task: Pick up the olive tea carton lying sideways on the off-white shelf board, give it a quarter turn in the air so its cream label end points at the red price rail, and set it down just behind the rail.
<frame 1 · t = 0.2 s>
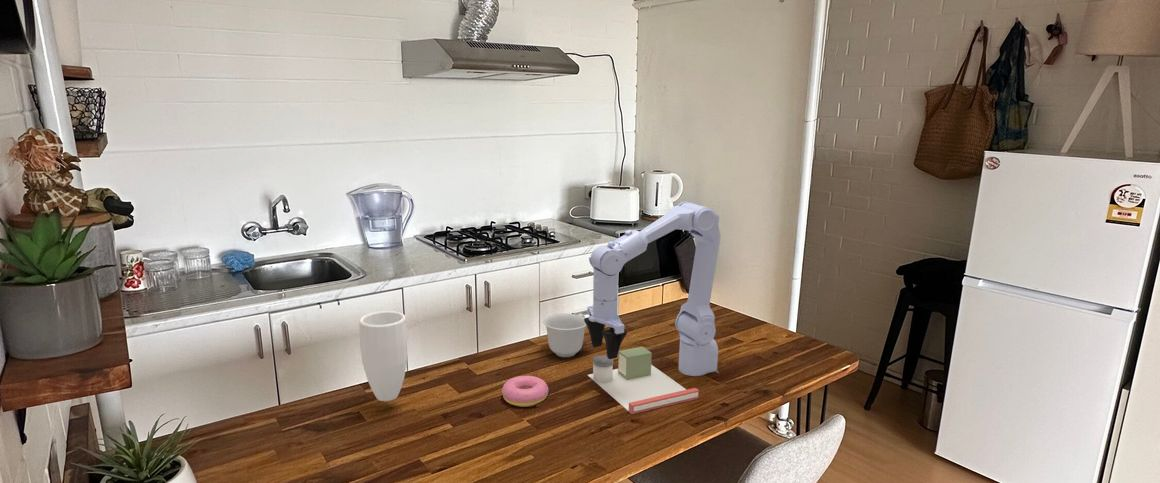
hand: (604, 352, 153), 10 cm above the table, fingers open, 7 cm apart
tea carton: (634, 374, 163), point 1 cm above the table, touching shelf board
teacup: (568, 354, 176), on the table
spice jar: (602, 378, 160), point 1 cm above the table, touching shelf board
cup: (388, 409, 145), on the table
doughnut: (525, 399, 151), on the table
shelf board: (640, 389, 156), on the table
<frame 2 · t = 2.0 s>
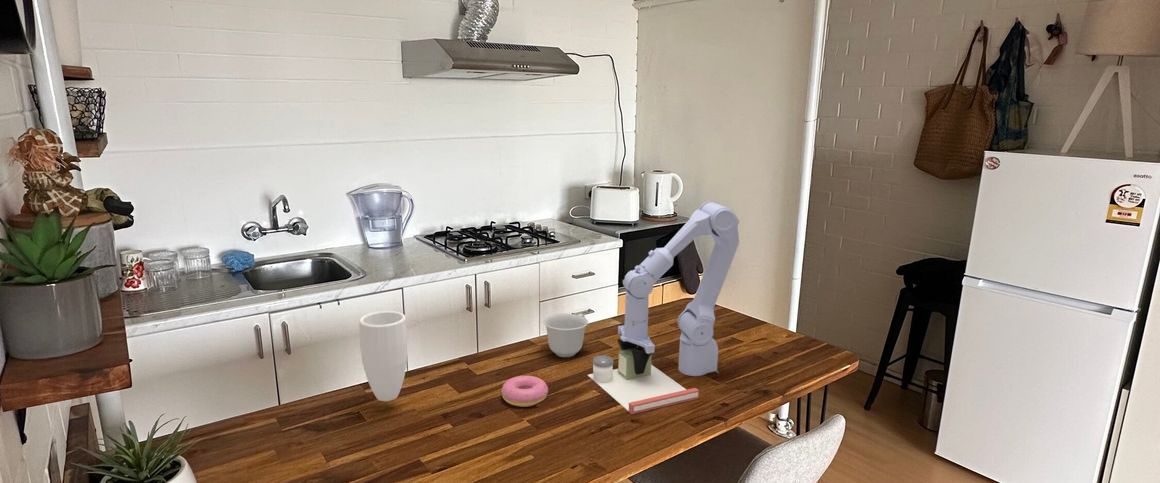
hand: (634, 369, 162), 2 cm above the table, fingers closed on tea carton, 4 cm apart
tea carton: (634, 374, 163), point 1 cm above the table, touching gripper, shelf board
everything else where it was.
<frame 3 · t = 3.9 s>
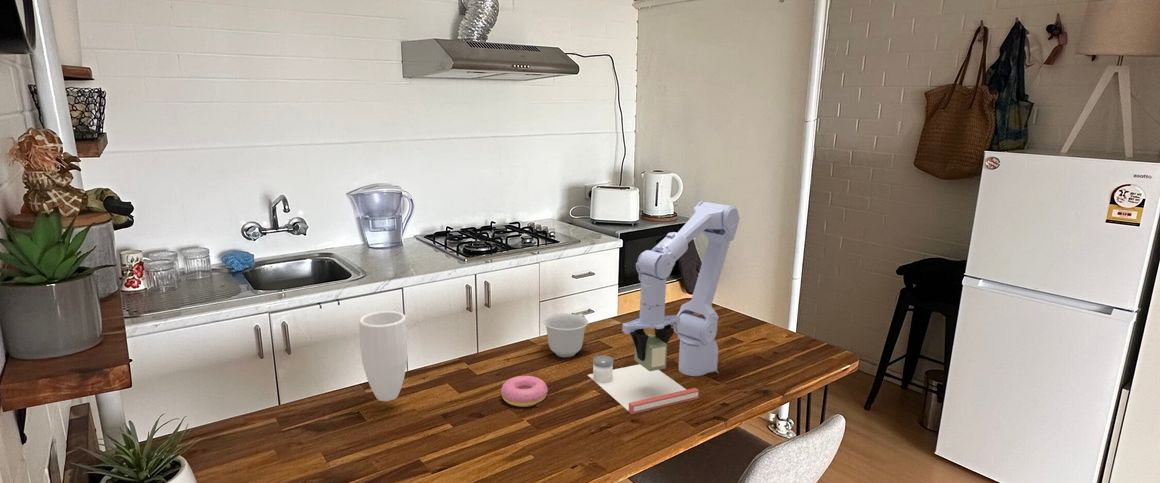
hand: (650, 357, 151), 9 cm above the table, fingers closed on tea carton, 4 cm apart
tea carton: (649, 364, 152), point 8 cm above the table, touching gripper
everything else where it was.
when the fingers open (3 cm above the table, at t = 5.7 s): tea carton stays where it is, resting on shelf board.
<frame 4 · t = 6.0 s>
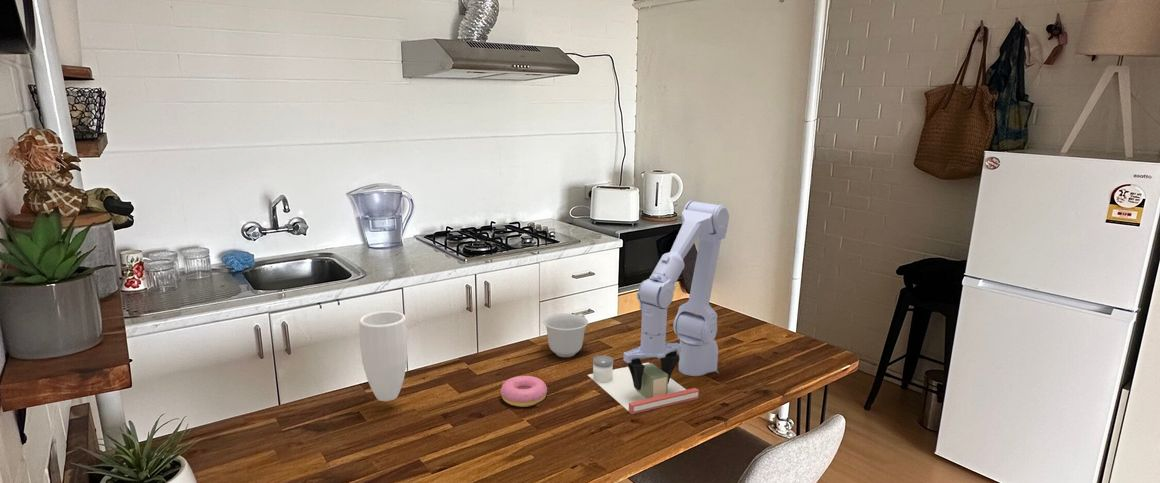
hand: (651, 385, 152), 3 cm above the table, fingers open, 7 cm apart
tea carton: (650, 393, 152), point 1 cm above the table, touching shelf board
everything else where it was.
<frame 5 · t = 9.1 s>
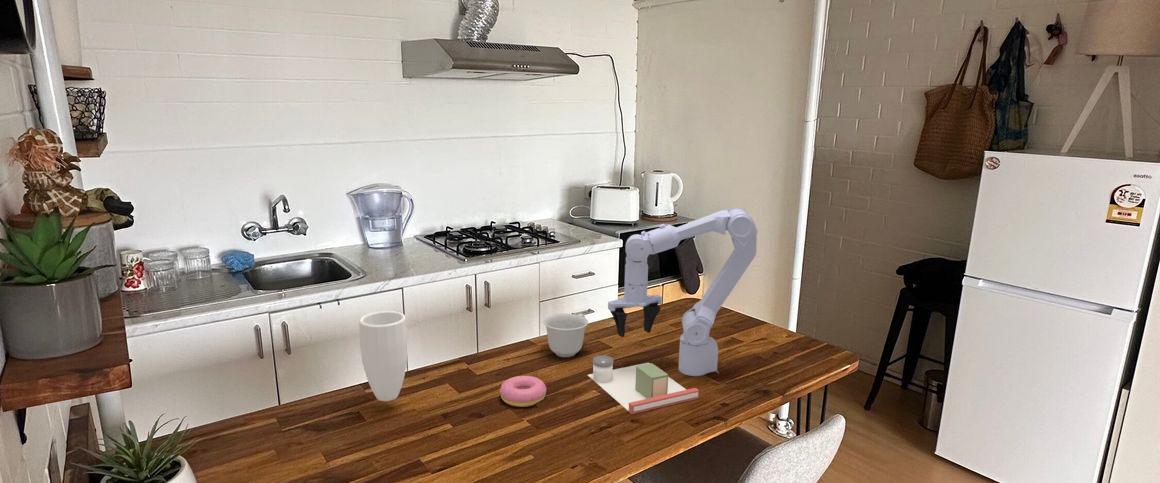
hand: (634, 333, 165), 10 cm above the table, fingers open, 7 cm apart
nothing on the table moved.
at the end: tea carton inside the target area (0.2 cm from its centre), point 0.8 cm above the table; tea carton tilted 0°; the gripper is holding nothing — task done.
